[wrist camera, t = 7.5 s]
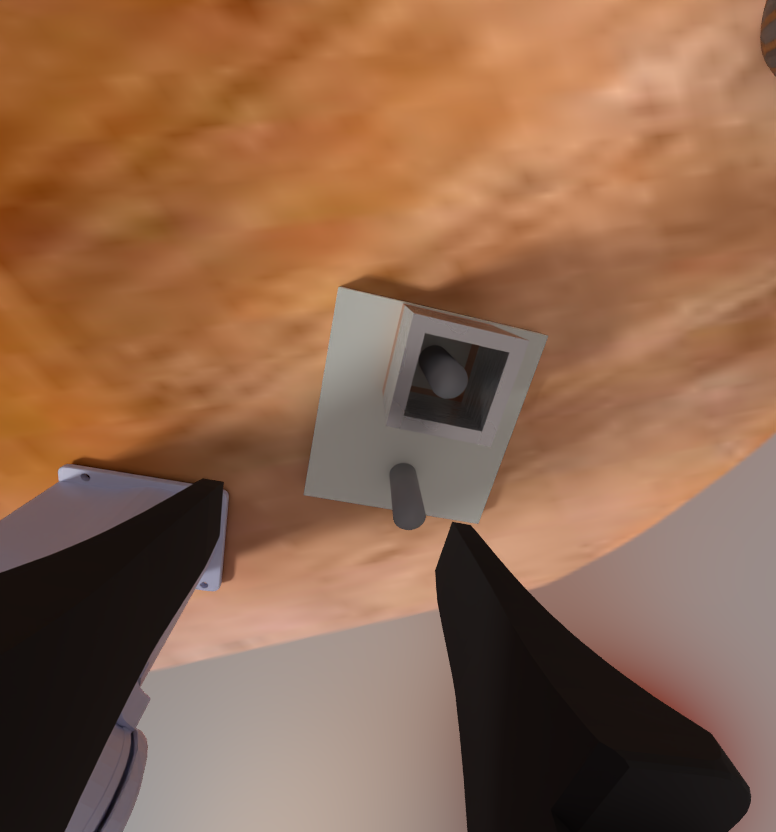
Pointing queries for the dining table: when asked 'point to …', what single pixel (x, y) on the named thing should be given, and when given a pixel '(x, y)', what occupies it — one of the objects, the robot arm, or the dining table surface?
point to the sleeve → (485, 367)
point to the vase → (769, 34)
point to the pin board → (396, 448)
